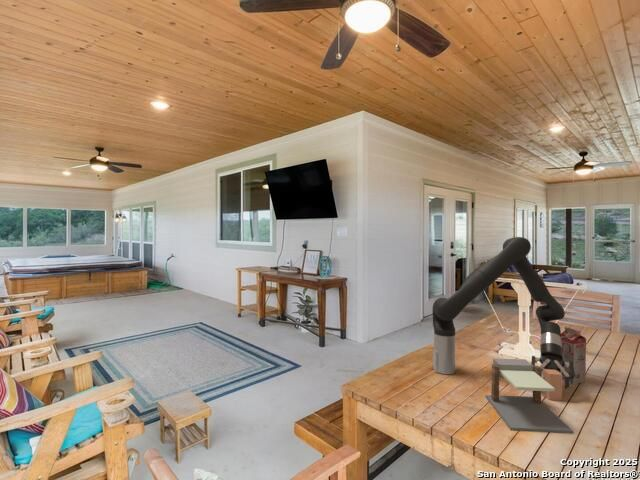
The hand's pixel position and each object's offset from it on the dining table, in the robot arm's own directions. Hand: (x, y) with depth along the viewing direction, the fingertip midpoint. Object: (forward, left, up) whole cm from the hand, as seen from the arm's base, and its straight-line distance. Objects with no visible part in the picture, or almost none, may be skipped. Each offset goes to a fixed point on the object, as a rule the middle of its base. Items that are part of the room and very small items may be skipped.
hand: (552, 385), depth 132 cm
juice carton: (+17, +18, -5) cm, 26 cm away
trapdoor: (-16, -9, +4) cm, 19 cm away
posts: (-16, -5, -5) cm, 17 cm away
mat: (-16, -12, -5) cm, 20 cm away
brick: (0, +1, -5) cm, 5 cm away
